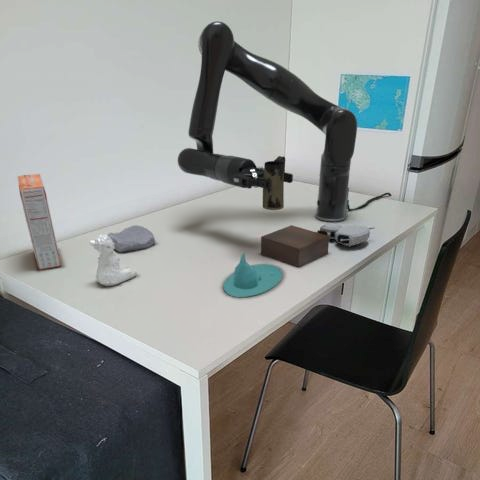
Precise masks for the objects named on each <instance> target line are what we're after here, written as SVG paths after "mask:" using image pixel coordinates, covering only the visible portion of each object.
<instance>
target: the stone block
mask: <svg viewBox="0 0 480 480" xmlns="http://www.w3.org/2000/svg"><path fill="white" fill-rule="evenodd" d="M107 235H108V237H110V238H111V239H112V240H113V243H114V244H115V245H114V247H115V249H114V251H116V252H119V253H124V252H129V251H137V250H141V249H142V250H143V249H147V248H150V247H152V246H153V245H155V244H156V239H155V235H154V233H153V232H152V231H150V230H149V229H148V228H147V227H144V226H142V225H136V224H135V225H131V226H129V227H125V228H124V229H122V230H121V231H119V232H115V233H114V232H109V233H108V234H107Z"/></svg>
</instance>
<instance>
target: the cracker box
mask: <svg viewBox="0 0 480 480" xmlns="http://www.w3.org/2000/svg"><path fill="white" fill-rule="evenodd" d="M17 183H18V191H19V196H20V200H21V205H22V209H23V214H24V218H25V222H26V226H27V229H28V233H29V237H30V242H31V246H32V249H33V254H34V256H35V260H36V264H37V268H38V270H39V271H40V270H48V269H53V268H60V267H62V262H61V256H60V252H59V248H58V243H57V239H56V234H55V229H54V224H53V220H52V216H51V211H50V206H49V202H48V196H47V192H46V189H45V185H44V182H43V178H42V175H41V174H40V173H35V174H22V175H18V176H17Z"/></svg>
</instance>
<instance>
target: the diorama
mask: <svg viewBox="0 0 480 480" xmlns="http://www.w3.org/2000/svg"><path fill="white" fill-rule="evenodd" d="M240 255H241V256H240V260H239V263H238V264H237V265H236V266H235V268H234V272H233V273H232V274H230V276H228V277H227V278H226V279H225V281H224V283H223V290H224V292H225V294H227V295H228V296H231V297H234V298H239V299H240V298H241V299H242V298H251V297H255V296H258V295H262V294H265V293H267V292H269V291H271V290H272V289H274V288H275V287H276V286H277V285H278V284H279V283H280V282H281V280H282V278H283V272H282V270H281V268H279V267H277V266H276V265H271V264H263V263H262V264H254V265H250V264H249V263H248V262H247V260H246V259H247V258H246V253H245V252H242V253H241V254H240Z"/></svg>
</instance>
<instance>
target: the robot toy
mask: <svg viewBox="0 0 480 480" xmlns="http://www.w3.org/2000/svg"><path fill="white" fill-rule="evenodd" d="M374 229H376V228H375V227H374V226H373V227H368V226H366V225H361V224H349V225H346V226H343V225H342V224H340V223H337V222H331V223H327V224H323V225H321V226H320V228H319V230H318V229H317V231H316V232H317V233H320V234H324V235H327V236H329V241H330V240H335V241H336V242H337V243H338V244H342V245H343V246H344V247H347V248H350V247H353V246H355V245H359V244H362V243H364V242H366V241H367V240H368V239H369V238H370V237H371V236H370V234H371V230H374Z"/></svg>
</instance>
